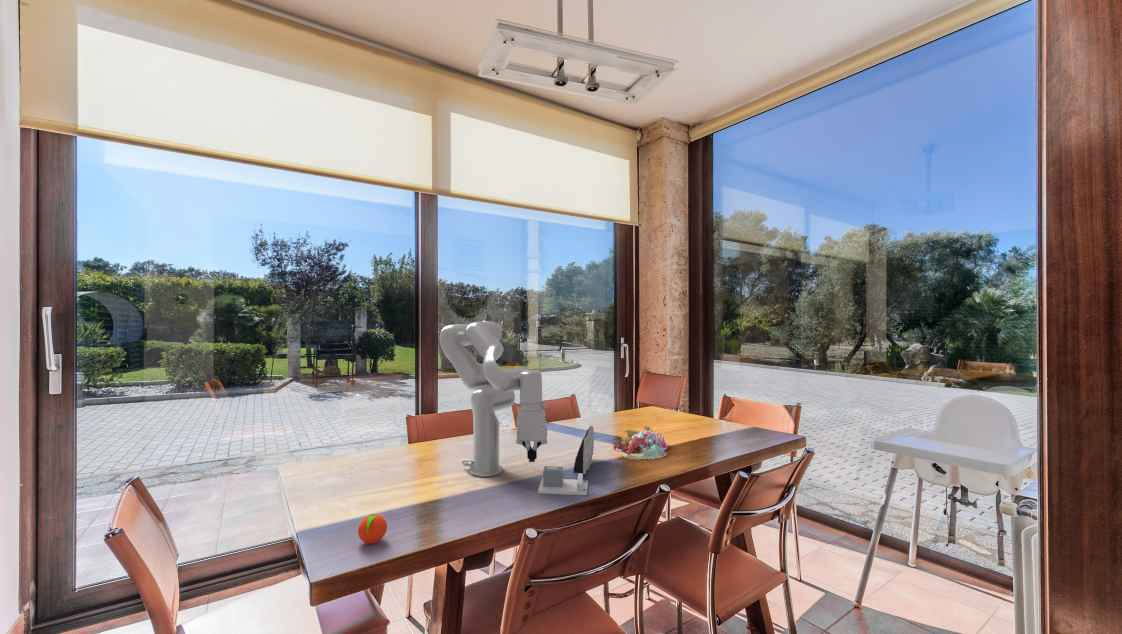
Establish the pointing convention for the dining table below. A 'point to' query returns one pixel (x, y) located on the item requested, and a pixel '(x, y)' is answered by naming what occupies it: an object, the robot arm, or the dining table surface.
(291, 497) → the dining table surface
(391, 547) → the dining table surface
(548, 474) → the module
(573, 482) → the plate
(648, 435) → the candy landscape model
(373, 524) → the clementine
